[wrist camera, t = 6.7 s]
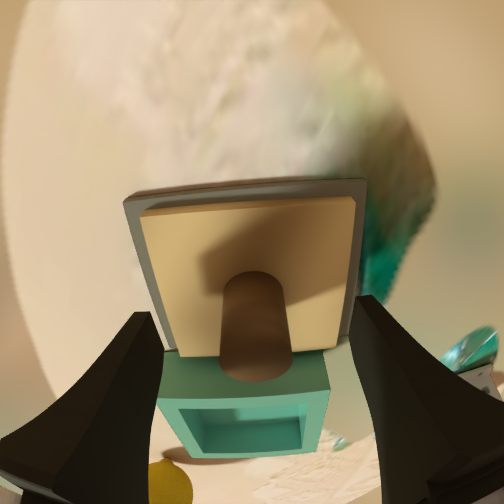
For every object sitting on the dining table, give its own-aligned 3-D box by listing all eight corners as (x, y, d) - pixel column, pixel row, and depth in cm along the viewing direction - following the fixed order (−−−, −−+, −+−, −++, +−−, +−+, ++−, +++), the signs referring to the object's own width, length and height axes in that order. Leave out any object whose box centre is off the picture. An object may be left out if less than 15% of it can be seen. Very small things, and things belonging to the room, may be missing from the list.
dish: (320, 342, 16) (330, 389, 14) (310, 415, 21) (316, 452, 18) (162, 351, 16) (152, 397, 14) (194, 422, 21) (191, 457, 18)
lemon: (167, 445, 24) (159, 525, 17) (206, 463, 26) (203, 535, 20) (128, 450, 25) (117, 520, 19) (166, 468, 28) (160, 532, 21)
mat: (364, 178, 11) (367, 182, 11) (346, 329, 16) (347, 335, 15) (125, 198, 12) (122, 202, 11) (170, 342, 16) (169, 347, 16)
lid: (351, 196, 11) (392, 257, 8) (333, 338, 15) (350, 405, 12) (144, 209, 11) (107, 275, 8) (182, 347, 16) (171, 415, 12)
